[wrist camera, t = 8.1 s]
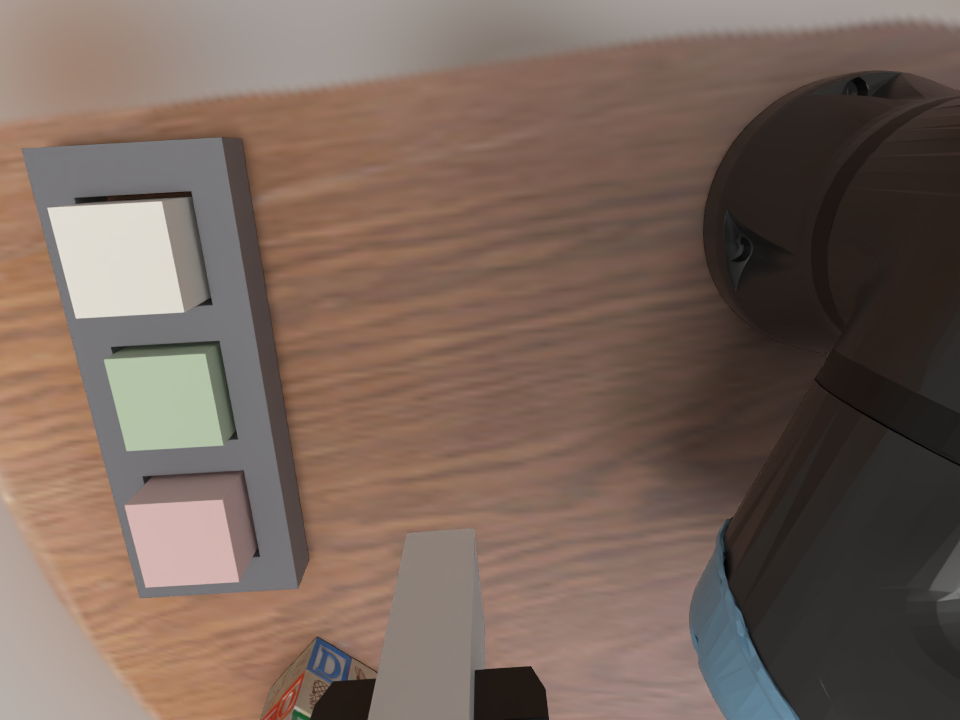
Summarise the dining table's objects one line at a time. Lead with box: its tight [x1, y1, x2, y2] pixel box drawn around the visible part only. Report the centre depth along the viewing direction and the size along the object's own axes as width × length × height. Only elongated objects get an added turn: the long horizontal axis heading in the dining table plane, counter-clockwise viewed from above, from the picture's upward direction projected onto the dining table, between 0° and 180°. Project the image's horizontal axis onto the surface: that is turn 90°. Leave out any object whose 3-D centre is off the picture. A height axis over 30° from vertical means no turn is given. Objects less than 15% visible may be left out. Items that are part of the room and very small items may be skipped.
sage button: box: [104, 341, 236, 451], centre depth 36 cm, size 5×5×4 cm
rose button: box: [124, 470, 258, 588], centre depth 38 cm, size 5×5×4 cm
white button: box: [47, 196, 211, 319], centre depth 33 cm, size 5×5×4 cm
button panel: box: [22, 137, 309, 598], centre depth 37 cm, size 27×10×3 cm, turn 3°
